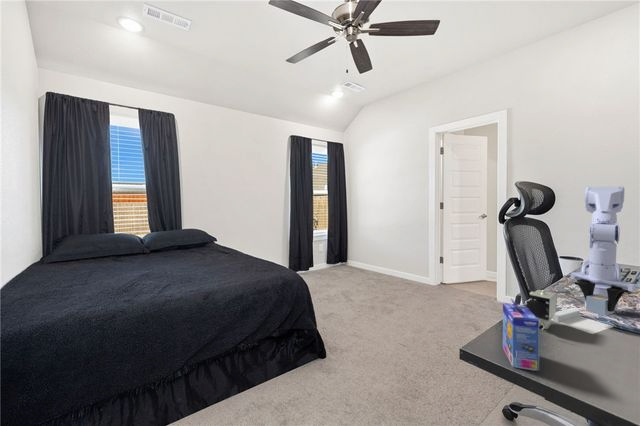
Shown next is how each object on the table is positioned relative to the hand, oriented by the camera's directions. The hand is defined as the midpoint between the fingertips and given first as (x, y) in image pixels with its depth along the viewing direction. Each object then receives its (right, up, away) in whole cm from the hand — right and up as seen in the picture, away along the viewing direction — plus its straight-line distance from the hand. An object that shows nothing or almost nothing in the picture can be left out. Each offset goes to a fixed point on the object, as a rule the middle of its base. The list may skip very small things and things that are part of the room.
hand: (599, 307), depth 89 cm
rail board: (-4, -6, +2) cm, 8 cm away
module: (0, -1, 0) cm, 1 cm away
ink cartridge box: (-36, -7, -17) cm, 40 cm away
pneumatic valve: (-18, -7, 0) cm, 19 cm away
